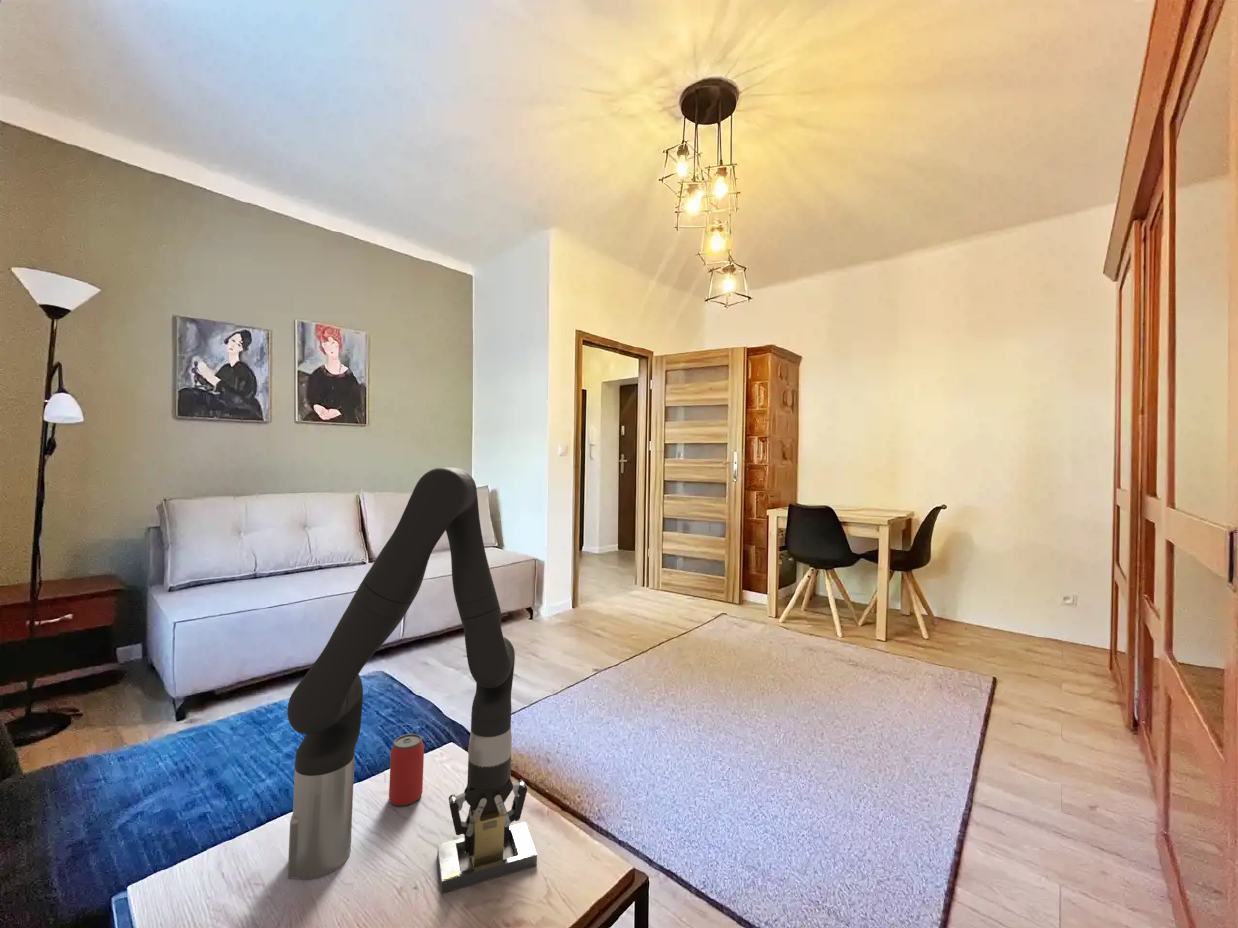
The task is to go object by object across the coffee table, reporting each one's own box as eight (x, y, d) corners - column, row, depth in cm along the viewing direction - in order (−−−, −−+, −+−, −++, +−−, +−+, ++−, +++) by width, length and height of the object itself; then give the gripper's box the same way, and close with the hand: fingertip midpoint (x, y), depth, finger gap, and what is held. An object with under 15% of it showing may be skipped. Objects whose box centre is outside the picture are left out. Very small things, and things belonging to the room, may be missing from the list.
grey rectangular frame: (441, 893, 83) (441, 880, 83) (437, 855, 91) (437, 843, 91) (536, 865, 89) (537, 853, 89) (524, 832, 97) (525, 821, 98)
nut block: (473, 869, 87) (475, 822, 87) (470, 849, 91) (471, 804, 92) (503, 861, 89) (504, 815, 89) (497, 842, 93) (499, 798, 94)
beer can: (418, 784, 111) (420, 729, 112) (425, 800, 106) (427, 742, 106) (386, 794, 108) (388, 737, 108) (391, 811, 102) (394, 751, 103)
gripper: (450, 772, 84) (446, 875, 84) (534, 755, 90) (531, 852, 90) (446, 749, 91) (442, 845, 91) (524, 735, 97) (521, 825, 97)
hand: (486, 848), depth 90 cm, fingers closed on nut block, 5 cm apart
